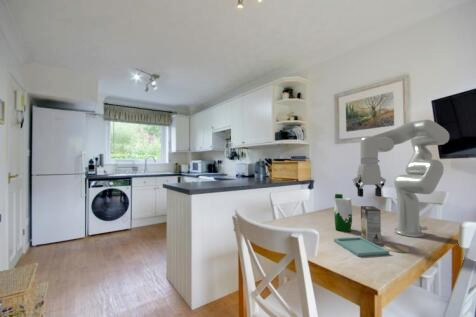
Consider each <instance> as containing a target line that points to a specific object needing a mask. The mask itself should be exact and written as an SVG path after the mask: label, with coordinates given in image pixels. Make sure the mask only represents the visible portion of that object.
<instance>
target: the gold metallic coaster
mask: <svg viewBox="0 0 476 317" xmlns="http://www.w3.org/2000/svg"><path fill="white" fill-rule="evenodd" d="M383 248H384V249H386V250H388V251H389V252H393V253H398V254H400V253H401V254H408V253H410V248H408V247H406V246H404V245H403V246H402V245H401V244H394V243H387V244H384V246H383Z"/></svg>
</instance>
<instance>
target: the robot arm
mask: <svg viewBox="0 0 476 317" xmlns="http://www.w3.org/2000/svg"><path fill="white" fill-rule="evenodd" d="M409 140H410V142H411V143H410V144H411V146H412V149H413V154H412V155H411V158H410V159H409V160H408V162H407V165H406V166H405V173H406V174H399V175H398V176H396V177H395V179H394V182H393V183H394V189H395V192H396V216H397V218H396V220H397V221H396V222H397V228H394V230H393V231H394V233H396V234H398V235H401V236H405V237H412V238H422V237H424V232H422V231H426V230H428V226H426V225H421V224H420V200H419V198H418V196H417V195H416V194H419V195H431V194H433V193H434V191H435V190H436V188H437V186H438V185H439V182H440V180H442V177H443V174H444V172H445V169H444V164H443V163H442V162H441V161H440V160H438V159H433V154H432V152H431V150H430V149H428V147H427V146H440V145H441V146H442V145H445V144H446V143H448V142H449V140H450V133H449V131H447V129H445V127H443V126H441V125H440V124H439V123H437V122H435V121H433V120H431V119H422V120H415V121H410V122H406V123H405V124H402V125H400V126H398V127H396V128H393V129H389V130H386V131H384V132H381V133H377V134H375V135H373V136H365V137H364V136H363V137H361V139H360V145H359V146H360V164H359V165H358V168H357V173H356V174H357V176H356V177H355V178H353V179H352V182H353V185H354V186H355V187H356V189H357V197H360V198H363V197H364V189H363V187H364V186H367V185H368V186H375V190H374V191H375V192H374V193H375V195H374V196H376V197H382V189H383V187H384V186H385V184H386V181H387V179H386V178H385V177H382V176H381V174H382V173H381V167H380V164H379V163H380V159H379V153H388V152H390V151H392V150H393V149H394V147H395V146H396V145H401V144H403V143H405V142H407V141H409Z"/></svg>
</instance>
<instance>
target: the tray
mask: <svg viewBox="0 0 476 317" xmlns="http://www.w3.org/2000/svg"><path fill="white" fill-rule="evenodd" d="M333 242H334V243H335V244H336V245H339V246H340V247H342V248H343V249H345V250H347V251H348V252H350V253H352V254H353V255H355V256H356V257H358V258H361V257H363V258H364V257H375V256H387V255H390V250H387V249H385V247H382V246H380V245H377V243H372V242H370V241H368V240H365V239H363V238H362V237H361V236H353V237H336V238H333Z"/></svg>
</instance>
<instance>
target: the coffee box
mask: <svg viewBox="0 0 476 317" xmlns="http://www.w3.org/2000/svg"><path fill="white" fill-rule="evenodd" d="M381 212H382V211H381V209H379V208H377V207H376V206H374V205H361V206H360V234H361V236H360V237H361V238H363V239H365V240H368V241H370V242H372V243H374V244H382V231H381V230H382V229H381V227H382V224H381V223H382V222H381V221H382V220H381V216H382V215H381V214H382V213H381Z"/></svg>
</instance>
